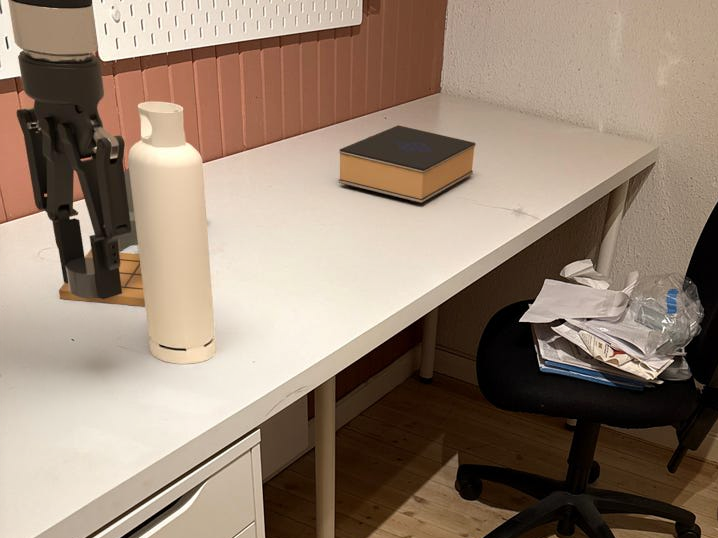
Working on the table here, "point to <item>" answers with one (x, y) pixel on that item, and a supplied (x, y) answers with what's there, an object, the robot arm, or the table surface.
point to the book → (406, 163)
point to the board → (129, 283)
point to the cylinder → (82, 278)
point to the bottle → (172, 236)
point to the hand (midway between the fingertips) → (92, 287)
